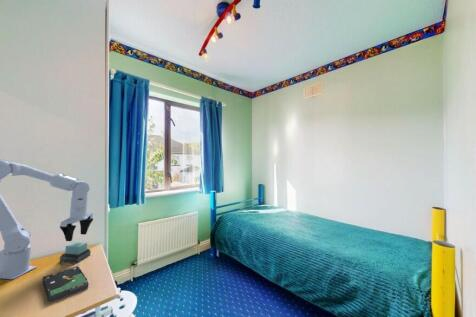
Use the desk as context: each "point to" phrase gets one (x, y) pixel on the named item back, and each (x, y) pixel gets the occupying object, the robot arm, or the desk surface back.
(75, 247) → the block
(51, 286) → the disk drive
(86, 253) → the stand
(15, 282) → the desk surface
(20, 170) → the robot arm
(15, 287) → the desk surface
